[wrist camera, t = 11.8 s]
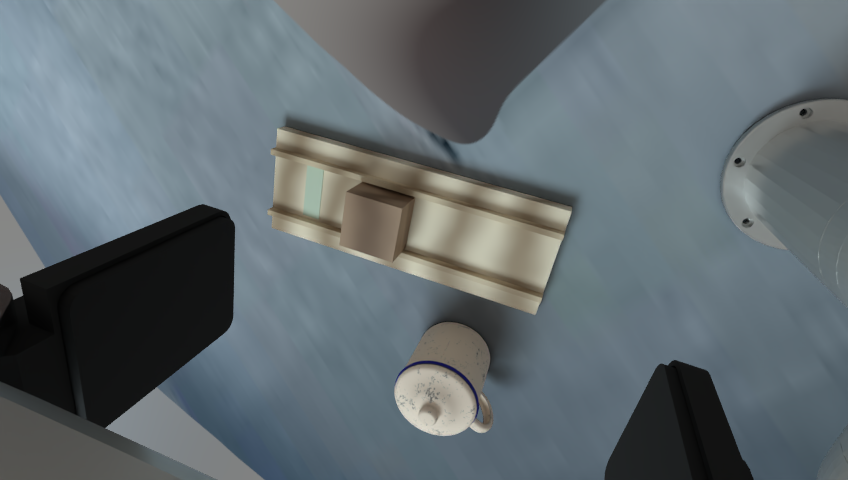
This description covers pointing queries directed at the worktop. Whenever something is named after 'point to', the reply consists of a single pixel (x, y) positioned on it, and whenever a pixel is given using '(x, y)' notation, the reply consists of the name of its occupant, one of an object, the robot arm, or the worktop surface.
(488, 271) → the birch rail board
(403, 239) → the walnut slider
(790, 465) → the worktop surface
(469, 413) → the teacup with lid
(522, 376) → the worktop surface
